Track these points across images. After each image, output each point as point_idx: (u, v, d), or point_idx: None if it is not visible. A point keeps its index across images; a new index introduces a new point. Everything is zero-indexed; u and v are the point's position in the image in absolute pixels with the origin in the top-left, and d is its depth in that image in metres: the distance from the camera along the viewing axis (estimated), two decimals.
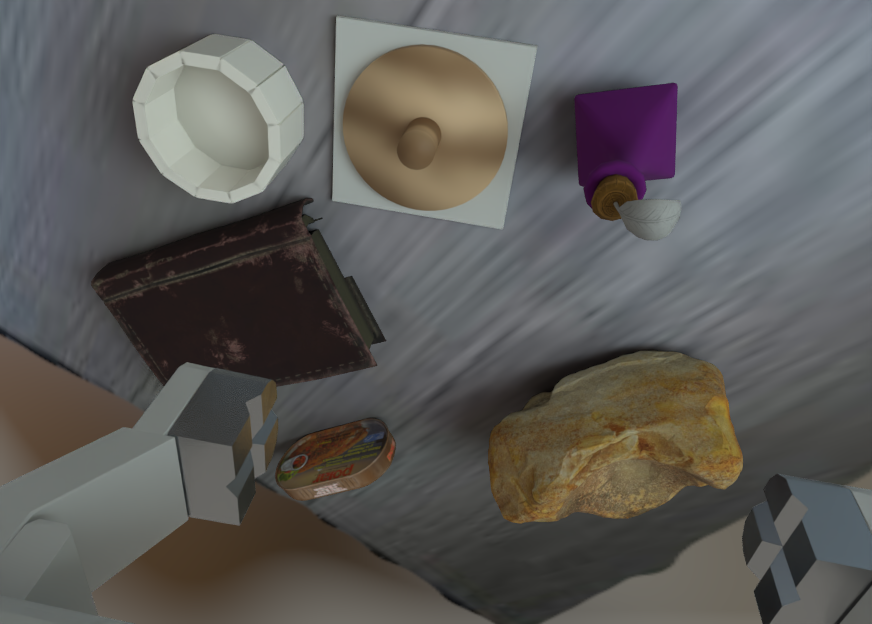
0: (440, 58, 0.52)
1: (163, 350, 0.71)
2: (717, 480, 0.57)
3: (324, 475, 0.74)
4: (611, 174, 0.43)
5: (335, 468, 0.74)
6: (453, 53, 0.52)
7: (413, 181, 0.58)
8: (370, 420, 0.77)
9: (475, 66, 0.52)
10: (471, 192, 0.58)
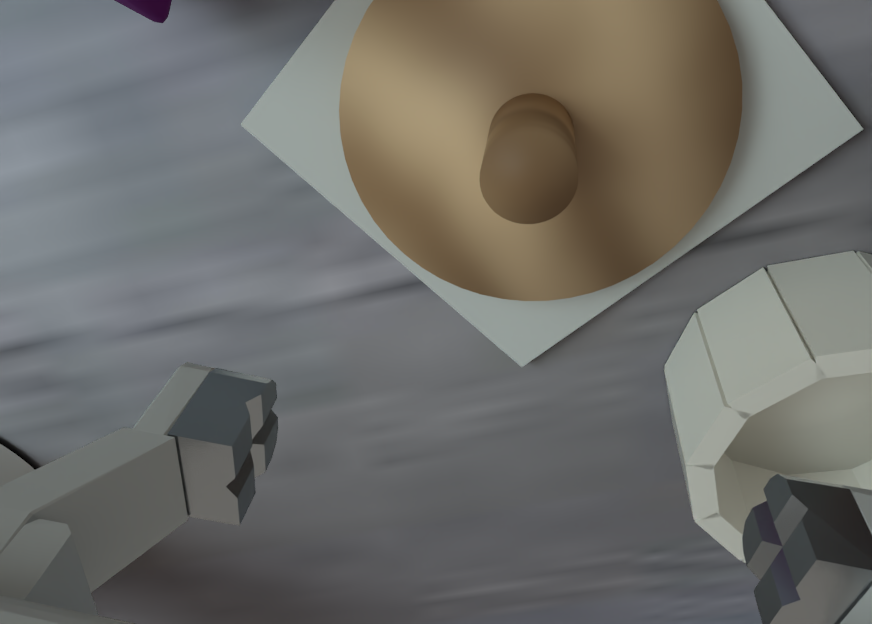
0: (402, 232, 0.26)
1: None
2: None
3: None
4: None
5: None
6: (378, 223, 0.27)
7: (639, 54, 0.22)
8: None
9: None
10: None
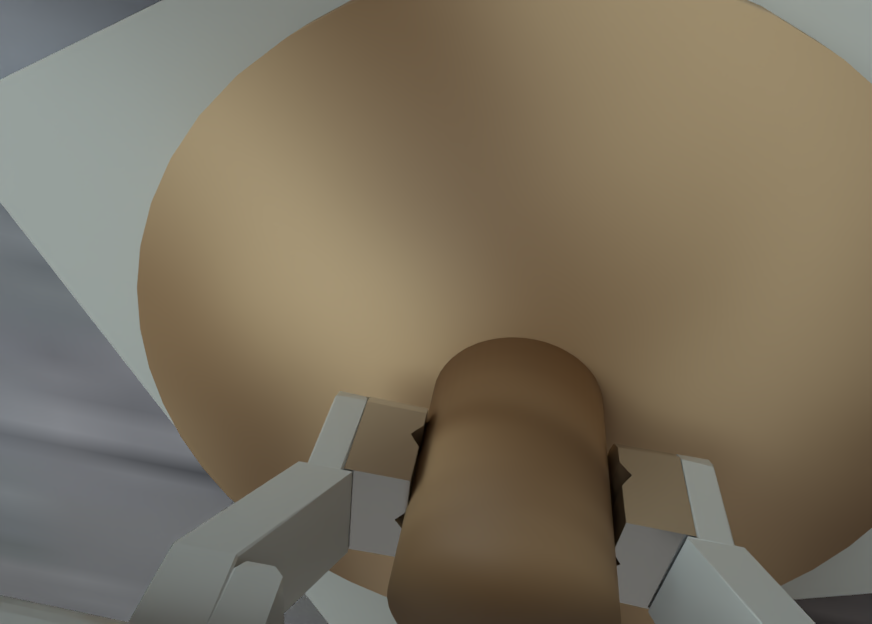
0: (210, 438, 0.14)
1: None
2: None
3: None
4: None
5: None
6: (171, 404, 0.13)
7: (784, 375, 0.11)
8: None
9: None
10: (743, 57, 0.08)
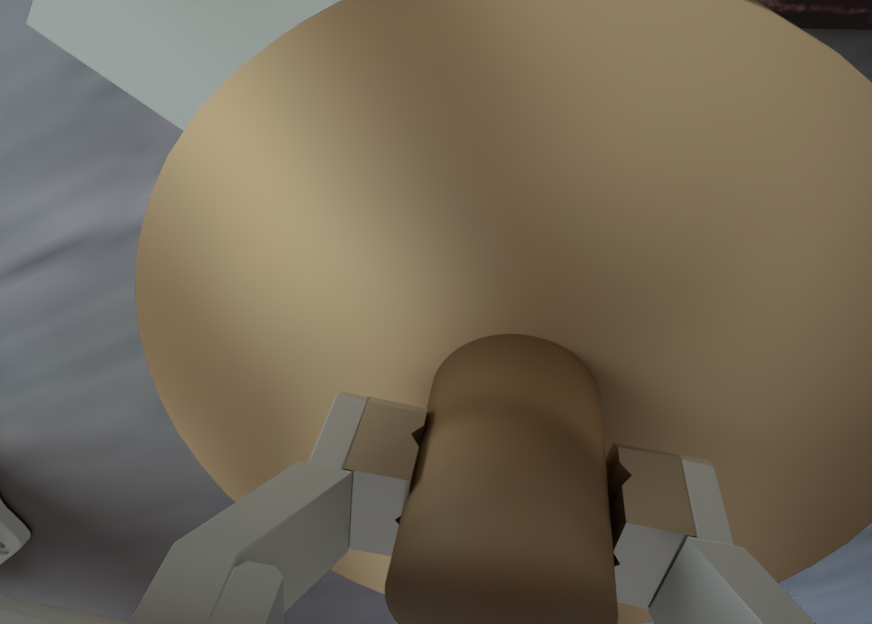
0: (209, 436, 0.14)
1: None
2: None
3: None
4: None
5: None
6: (170, 402, 0.13)
7: (781, 371, 0.11)
8: None
9: None
10: (738, 52, 0.08)
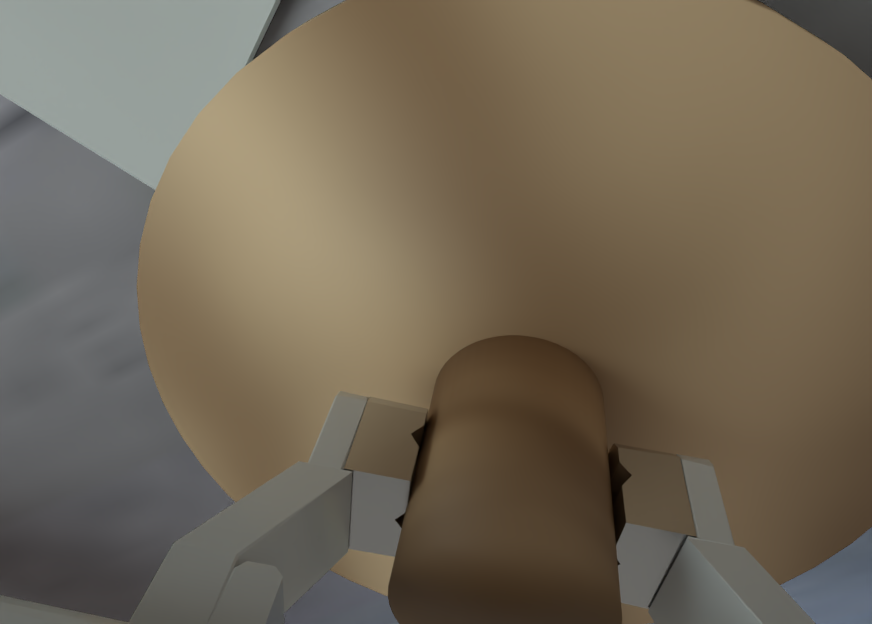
0: (211, 437, 0.14)
1: None
2: None
3: None
4: None
5: None
6: (172, 403, 0.13)
7: (785, 372, 0.11)
8: None
9: None
10: (743, 53, 0.08)
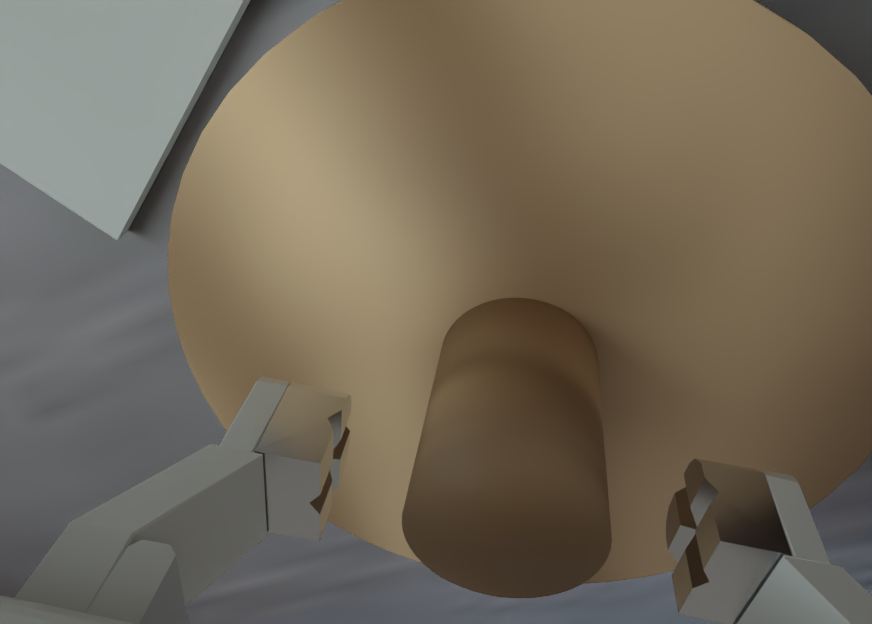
0: (232, 400, 0.15)
1: None
2: None
3: None
4: None
5: None
6: (196, 367, 0.14)
7: (763, 330, 0.12)
8: None
9: None
10: (719, 34, 0.09)
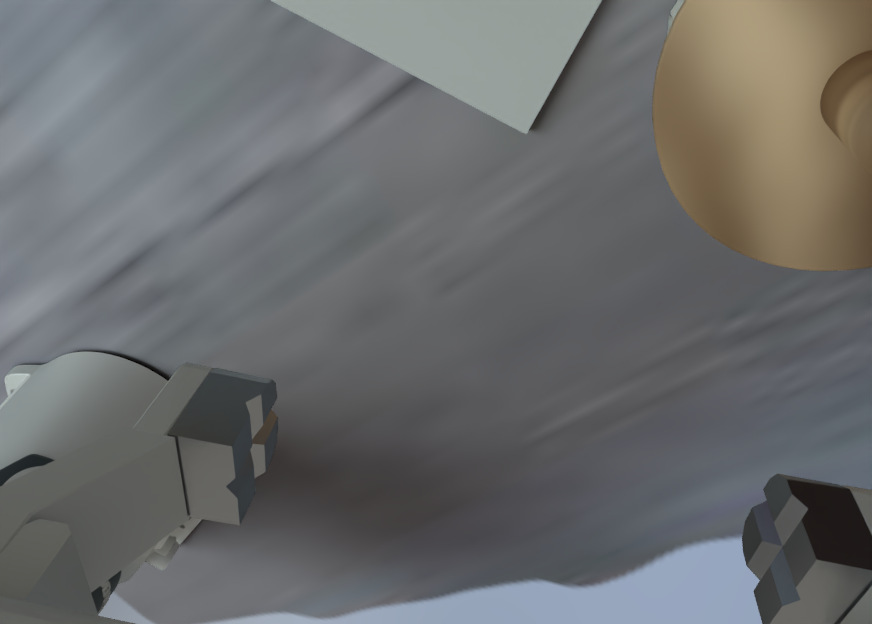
0: (681, 168, 0.25)
1: None
2: None
3: None
4: None
5: None
6: None
7: None
8: None
9: (654, 99, 0.24)
10: None
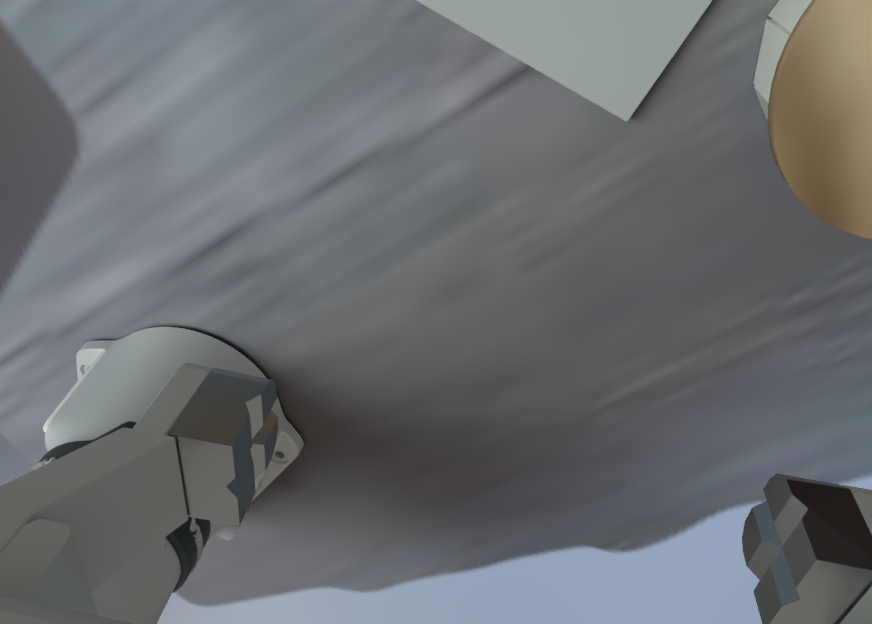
0: (792, 150, 0.29)
1: None
2: None
3: None
4: None
5: None
6: (773, 136, 0.29)
7: None
8: None
9: (776, 89, 0.28)
10: None
